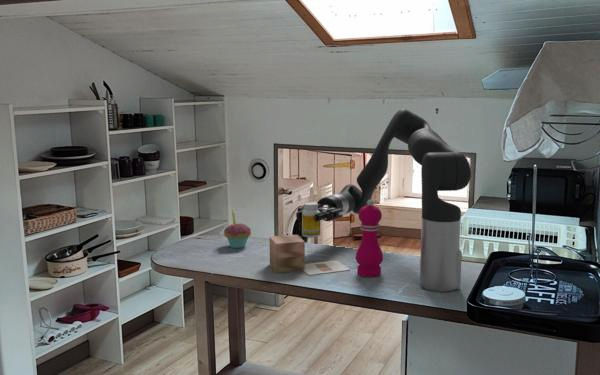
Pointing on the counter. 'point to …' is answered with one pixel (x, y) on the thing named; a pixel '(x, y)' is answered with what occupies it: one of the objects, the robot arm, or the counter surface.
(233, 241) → the cupcake
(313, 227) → the supplement bottle
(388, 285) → the counter surface
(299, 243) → the tan cubic block
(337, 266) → the page
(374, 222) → the pepper mill
